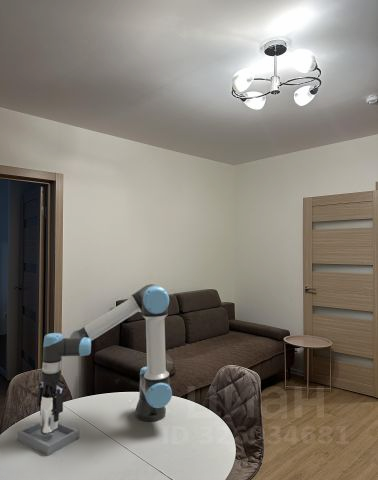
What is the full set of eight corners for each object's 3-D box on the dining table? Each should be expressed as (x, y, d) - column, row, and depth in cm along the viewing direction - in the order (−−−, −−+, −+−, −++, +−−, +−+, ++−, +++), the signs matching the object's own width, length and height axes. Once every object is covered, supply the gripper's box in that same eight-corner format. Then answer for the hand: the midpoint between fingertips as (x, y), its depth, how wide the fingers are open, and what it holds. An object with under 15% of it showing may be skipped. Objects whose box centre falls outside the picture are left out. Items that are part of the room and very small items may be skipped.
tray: (78, 438, 146) (78, 430, 146) (47, 455, 133) (48, 446, 134) (48, 425, 157) (48, 417, 157) (17, 440, 144) (17, 431, 144)
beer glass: (51, 436, 141) (52, 399, 142) (35, 434, 143) (37, 397, 143) (60, 428, 148) (62, 392, 149) (46, 426, 149) (47, 390, 150)
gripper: (29, 368, 148) (26, 423, 147) (59, 378, 138) (56, 437, 137) (44, 364, 155) (42, 416, 154) (74, 373, 145) (71, 429, 143)
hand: (48, 426), depth 145 cm, fingers closed on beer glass, 6 cm apart
